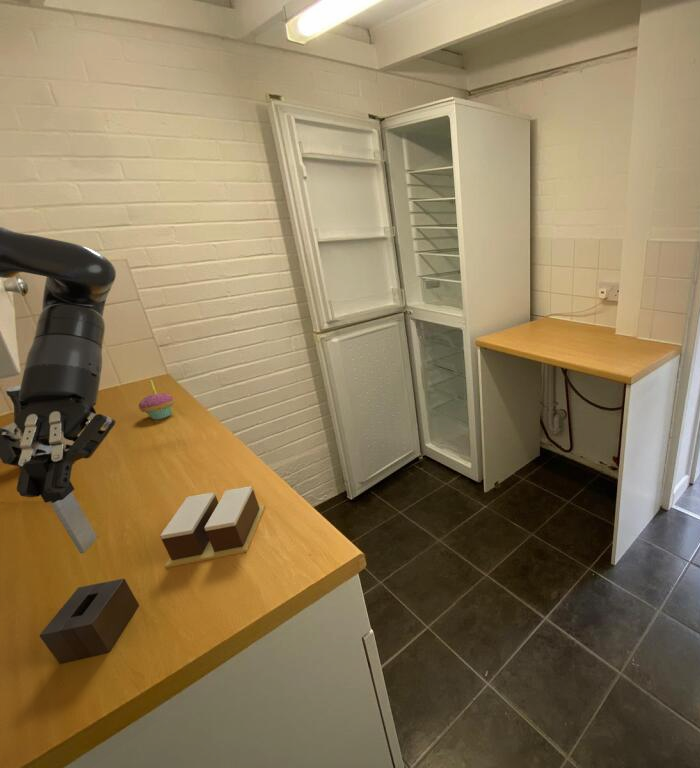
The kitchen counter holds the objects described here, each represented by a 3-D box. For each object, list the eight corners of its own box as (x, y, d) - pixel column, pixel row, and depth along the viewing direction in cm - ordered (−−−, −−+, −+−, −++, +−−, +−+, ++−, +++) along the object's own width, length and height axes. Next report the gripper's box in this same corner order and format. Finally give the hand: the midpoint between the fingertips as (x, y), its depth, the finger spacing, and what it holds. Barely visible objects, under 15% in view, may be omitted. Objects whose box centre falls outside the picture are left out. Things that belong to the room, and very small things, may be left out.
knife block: (95, 614, 66) (78, 587, 63) (139, 605, 67) (124, 578, 65) (59, 664, 59) (38, 635, 56) (109, 652, 60) (91, 624, 58)
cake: (196, 519, 85) (185, 494, 83) (265, 506, 88) (257, 482, 86) (165, 568, 74) (152, 540, 71) (246, 552, 77) (236, 525, 74)
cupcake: (151, 412, 132) (136, 377, 127) (182, 407, 134) (169, 373, 130) (139, 425, 124) (123, 388, 119) (173, 419, 127) (159, 383, 122)
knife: (87, 539, 62) (38, 454, 56) (103, 536, 62) (56, 451, 56) (74, 554, 59) (20, 466, 53) (90, 551, 59) (39, 463, 53)
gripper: (-23, 368, 55) (-57, 501, 49) (101, 356, 58) (82, 480, 52) (29, 389, 62) (4, 507, 56) (137, 377, 65) (124, 488, 59)
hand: (42, 493), depth 54 cm, fingers closed on knife, 2 cm apart
